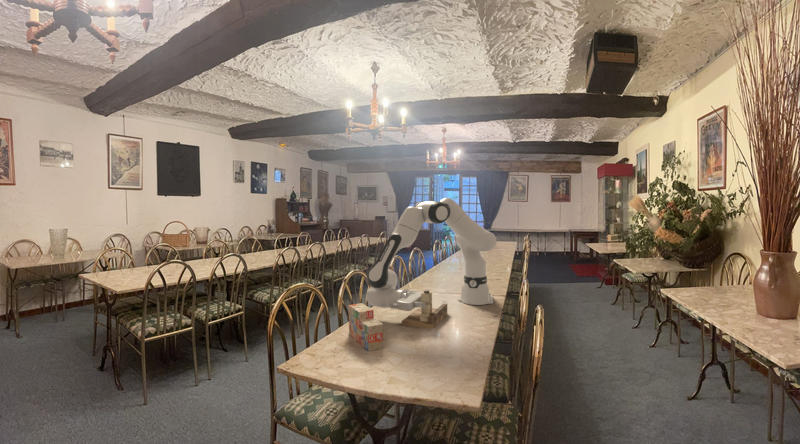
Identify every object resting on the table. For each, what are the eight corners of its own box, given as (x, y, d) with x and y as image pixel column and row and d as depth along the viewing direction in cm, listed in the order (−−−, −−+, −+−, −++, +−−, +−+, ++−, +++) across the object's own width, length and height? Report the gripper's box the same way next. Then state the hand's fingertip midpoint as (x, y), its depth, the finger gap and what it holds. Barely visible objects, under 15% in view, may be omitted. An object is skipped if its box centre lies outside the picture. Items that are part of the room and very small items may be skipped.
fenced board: (420, 311, 184) (419, 301, 184) (447, 314, 178) (447, 303, 178) (401, 325, 163) (401, 314, 163) (432, 329, 157) (432, 317, 157)
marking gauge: (425, 316, 168) (425, 288, 168) (433, 317, 167) (433, 289, 166) (420, 321, 162) (419, 292, 162) (429, 322, 161) (428, 292, 160)
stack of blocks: (383, 348, 138) (383, 315, 137) (368, 351, 135) (367, 318, 134) (362, 331, 157) (362, 302, 156) (348, 333, 154) (348, 304, 153)
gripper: (390, 298, 159) (420, 301, 154) (408, 288, 178) (435, 290, 172) (390, 312, 159) (420, 316, 154) (408, 301, 178) (435, 303, 173)
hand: (428, 302), depth 163 cm, fingers open, 7 cm apart
